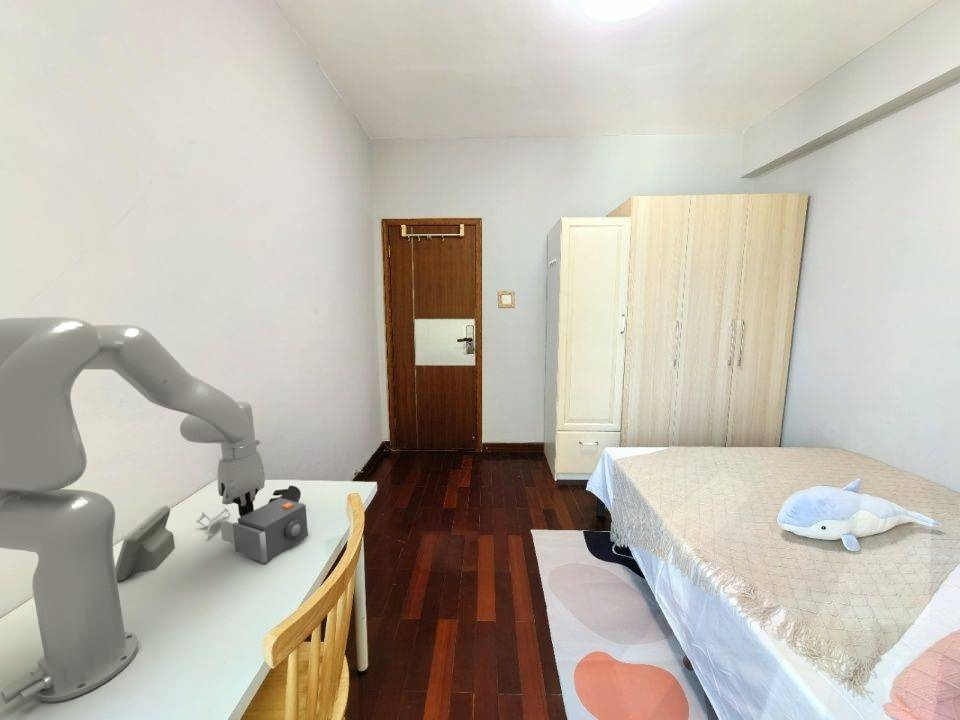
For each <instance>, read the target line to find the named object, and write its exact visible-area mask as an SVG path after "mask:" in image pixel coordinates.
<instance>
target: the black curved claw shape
mask: <svg viewBox="0 0 960 720" xmlns="http://www.w3.org/2000/svg"><path fill="white" fill-rule="evenodd" d="M301 495H302V493H301V490H300V488H298V487H297V486H295V485H289V487H288V488H283V489H277V490H274V491H273V493H272V496H273V497H272V498H269V501H268V502H267V504H268V503H270V502H272V501H274V500H276V499H278V498H283V499H286V500H290V501H294V502H297V503H300V500H301ZM274 496H279V497H274Z"/></svg>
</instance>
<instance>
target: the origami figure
mask: <svg viewBox="0 0 960 720" xmlns="http://www.w3.org/2000/svg"><path fill="white" fill-rule="evenodd" d="M222 515H223V516H222ZM226 515H228V516H227V517H225V516H226ZM221 516H222V519H223V520H225V521H229V520H228V519H229V518H230V516H231V513H230V510H229V509H228V508H227V507H225V505H224V504H223V503H222V502H221V503H219V504H218V505H216V506H214V507H212V508H210V509H208V510H206V511H203V512H201V515H200V516H199V518H197V519H196V520H195V522H196V523H198V524H199V525H201V526H203V527H202V528H200V530H204V529H206V531H205V534H208V535H209V536H207V539H208V538H210V537H211V536H213V533H212V532H210V529H211V527H212V524H213V522H214V521H216V520H218V519H219V518H221ZM204 518H206V519H207V520H208V521H209V525H208V526H206V525H205V524H204V523H203V522H201V521H202V520H203V519H204Z"/></svg>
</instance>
